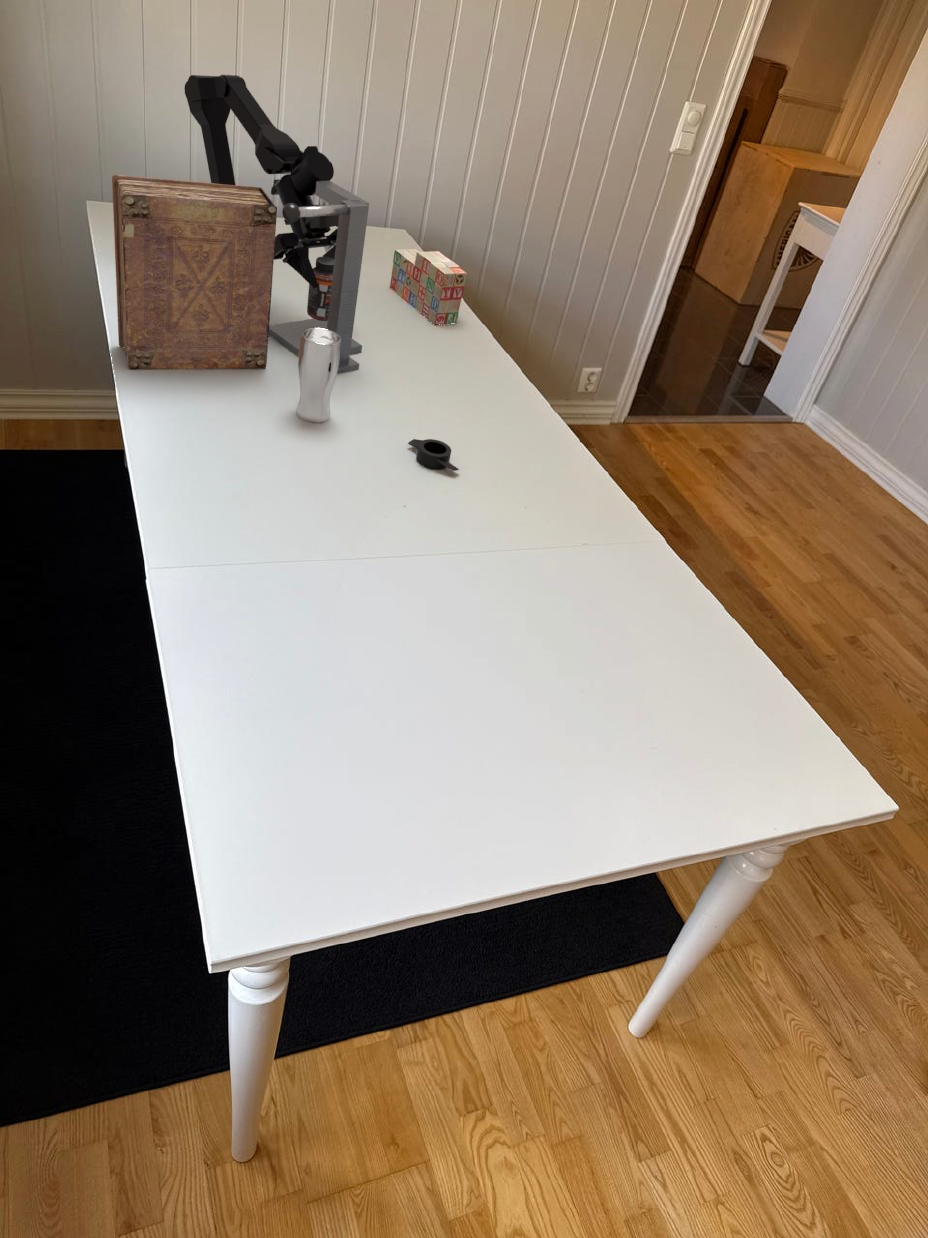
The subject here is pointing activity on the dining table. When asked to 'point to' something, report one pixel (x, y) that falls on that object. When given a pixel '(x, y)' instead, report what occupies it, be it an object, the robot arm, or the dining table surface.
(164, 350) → the book
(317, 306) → the supplement bottle
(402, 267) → the stack of blocks
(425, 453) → the black winged ring
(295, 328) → the arbor press
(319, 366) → the beer glass
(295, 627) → the dining table surface
